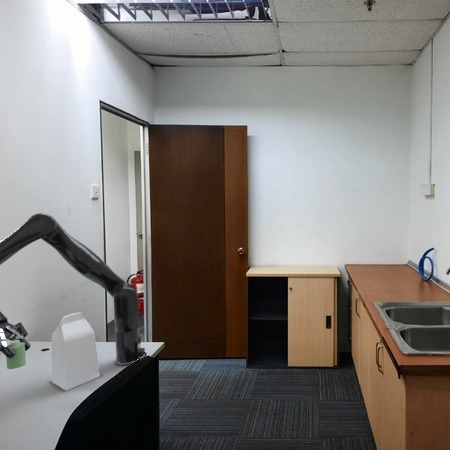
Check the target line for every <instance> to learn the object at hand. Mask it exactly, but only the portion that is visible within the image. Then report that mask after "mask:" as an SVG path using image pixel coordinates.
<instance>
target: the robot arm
mask: <svg viewBox="0 0 450 450" xmlns="http://www.w3.org/2000/svg"><path fill="white" fill-rule="evenodd" d="M39 240H42V241H44V242H45V243H47V244H48V245H49V246H51V247H52V248H53V249H54V250H55V251H56V252H57V253H58V254H59V255H60V256H61V258H62V259H63V260H64V261H65V262H66V263H67V264H68V265H69V266H70V267H71V268H73V270H75V271H76V272H77V273H78V274H80V275H81V276H83V277H84V278H86V279H87V280H89V281H91V282H93V283H94V284H97V285H99V287H101V288H102V289H104V290H105V291H106V292H107V293H108V294H109V295H110V296H111V297H112V299H113V312H114V314H113V315H114V317H113V318H114V319H113V320H114V338H115V356H116V357H115V363H116V364H117V365H119V366H125V365H126V366H127V365H131V364H130V363H132V362H134V361H136V360H137V359H139V358H140V359H141V358H142V357H144V356H146V357H147V352H146V348H145V347H142V342H141V341H142V340H141V338H142V337H141V335H140V325H139V320H140V319H139V317H140V316H139V315H140V312H139V311H140V308H139V293H138V292H137V291H138V290H137V289H136V287H135V286H134V285H132V284H131V283H129V282H128V281H126V280H125V279H123V278H122V277H120V276H119V275H118V274H117V273H115V271H114V270H112V268H111V267H110V266H109V264H107V263H106V262H105V261H104V260H103V259H101V258H100V256H99V255H97V254H96V253H95V252H94V251H93V250H91V249H90V247H89V248H88V246H86V245H85V244H83V243H82V242H80V241H79V240H77V239H76V238H74V237H73V236H71V235H70V234H69V233H68V231H66V230H65V229H64V228H63V227H62V226H61V224H60V223H59V222H58V221H57V220H56V219H55V218H54V217H53V216H52V215H51V214H49V213H46V212H45V213H44V212H39V213H35V214H33V215H31V216H30V217H29V218H28V219H27V220H26V221H25V222H24V223H23V224H21V226H19V227H18V228H17V229H16V230H15V231H13V232H12V233H10V234H9V235H7V236H6V237H3V238H2V239H1V240H0V266H1V265H2V264H4V263H5V262H6V261H8V260H9V259H11V258H12V257H13V256H14V255H15V254H17V253H18V252H20V251H21V250H22V249H24V248H26V247H27V246H29V245H31V244H32V243H34V242H37V241H39ZM28 335H29V333H28V331H27V330H26V328H25V327H24V325H23V323H22V322H18V323H16V324H12V323H10V322H8V317H6V315H5V314H3V312H2V311H0V352H1V353H2V354H3V355H4V356H5V358H6V357H9V358H12V357H14V355H15V354H16V353H15V352H14V351H13V350H12V349H11V348H10V347H9V346H7V345H8V343H7V342H6V341H7V340H8V341H10V342H12V341H14V340H20V342H24V343H25V352H26V351H28V350H30V348H31V343H29V342H28V341H27V339H26V338H27V336H28ZM140 359H139V360H140ZM132 364H133V363H132Z"/></svg>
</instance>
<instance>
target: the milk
mask: <svg viewBox="0 0 450 450" xmlns="http://www.w3.org/2000/svg"><path fill="white" fill-rule="evenodd" d="M98 359H99V358H98V350H97V343H96V335H95V330H94V329H93V327H92V326H91V324H90V323H89V321H87V319H86V318H85V316H84V314H83V313H82V311H78V312H74V313H69V314H67V315H63V316H62V318H61V320H60V322H59V325H58V326H56V329H55V330H54V331H53V332H52V334H51V383H53V385H56V386H57V387H59V388H60V389H62V390H64V391H65V392H67V391H69V390H71V389H73V388H76V387H78V386H81V385H83V384H85V383H88V382H90V381H93V380H94V379H97V378H99V377H100V375H101V374H100V366H99V360H98Z"/></svg>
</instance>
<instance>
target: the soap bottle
mask: <svg viewBox="0 0 450 450" xmlns="http://www.w3.org/2000/svg"><path fill="white" fill-rule="evenodd" d="M9 343H10V344H7V346H9V347H10V348H11V349H12V350H13V351H14V352H15V353H16V354H15V355H14V357H12V358H9V357H6V356H5V358H6V359H5V360H6V361H5V362H6V369H8V370H14V369H18V368H21V367H24V366H26V364H27V359H26V358H27V357H26V356H27V355H26V351H25V343H24V342H20V340H14V341H10V342H9Z"/></svg>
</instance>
